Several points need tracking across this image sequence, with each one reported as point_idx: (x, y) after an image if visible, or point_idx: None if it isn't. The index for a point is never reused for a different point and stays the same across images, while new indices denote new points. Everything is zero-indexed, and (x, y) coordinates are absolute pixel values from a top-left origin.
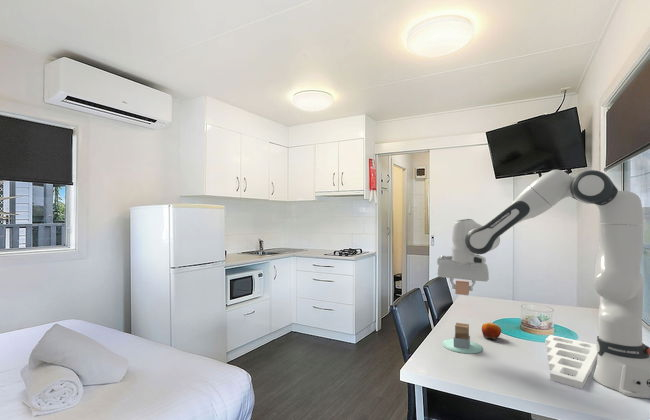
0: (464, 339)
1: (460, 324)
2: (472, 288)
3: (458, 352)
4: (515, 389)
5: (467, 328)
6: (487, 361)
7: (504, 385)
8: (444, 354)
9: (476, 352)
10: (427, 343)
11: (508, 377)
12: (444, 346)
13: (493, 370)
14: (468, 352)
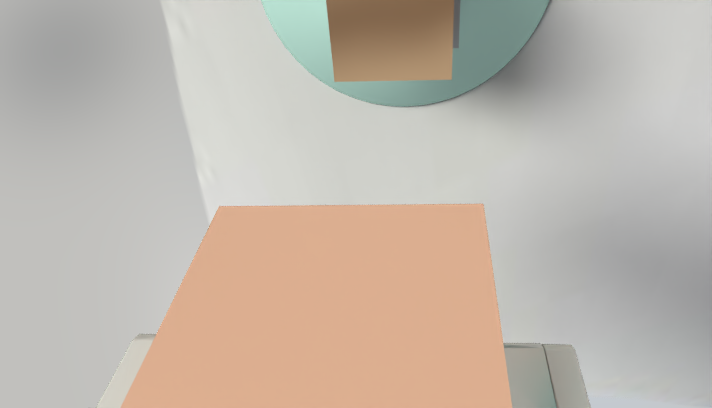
0: None
1: (373, 12)
2: (579, 386)
3: (394, 104)
4: (640, 362)
5: (448, 76)
6: (567, 159)
7: (603, 349)
8: (326, 166)
9: (508, 61)
10: (175, 37)
11: (640, 289)
12: (293, 55)
13: (582, 250)
14: (456, 88)
